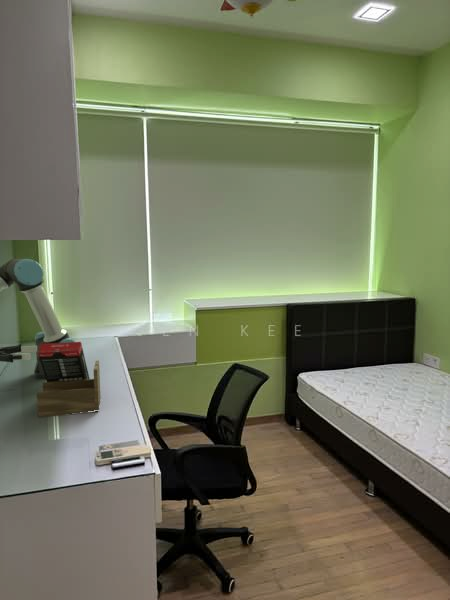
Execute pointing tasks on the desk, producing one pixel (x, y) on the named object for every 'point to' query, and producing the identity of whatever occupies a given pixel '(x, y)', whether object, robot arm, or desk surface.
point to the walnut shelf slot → (70, 396)
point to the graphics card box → (63, 361)
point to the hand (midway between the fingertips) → (33, 352)
